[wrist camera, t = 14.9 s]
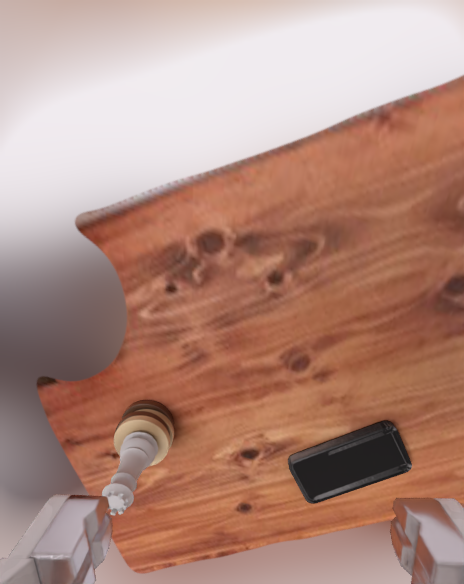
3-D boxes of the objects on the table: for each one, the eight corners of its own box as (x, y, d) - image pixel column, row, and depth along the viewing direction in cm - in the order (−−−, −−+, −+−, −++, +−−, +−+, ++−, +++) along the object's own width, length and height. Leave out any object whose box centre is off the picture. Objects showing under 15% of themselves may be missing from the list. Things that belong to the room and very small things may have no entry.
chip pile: (186, 416, 39) (180, 435, 36) (162, 455, 41) (155, 477, 37) (136, 391, 38) (125, 408, 35) (114, 432, 40) (101, 452, 37)
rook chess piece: (152, 463, 37) (128, 528, 29) (119, 451, 36) (86, 513, 29) (164, 436, 36) (142, 496, 28) (130, 424, 35) (98, 481, 28)
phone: (414, 469, 38) (309, 505, 40) (409, 462, 39) (307, 498, 41) (394, 423, 37) (286, 463, 39) (390, 417, 38) (284, 456, 40)
